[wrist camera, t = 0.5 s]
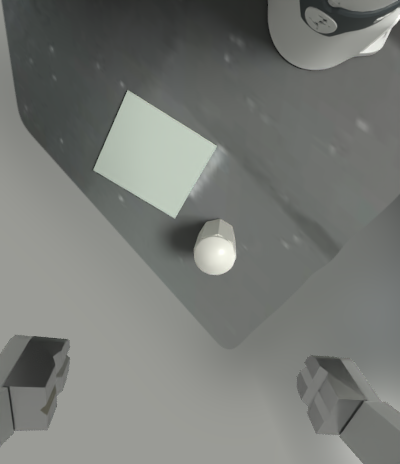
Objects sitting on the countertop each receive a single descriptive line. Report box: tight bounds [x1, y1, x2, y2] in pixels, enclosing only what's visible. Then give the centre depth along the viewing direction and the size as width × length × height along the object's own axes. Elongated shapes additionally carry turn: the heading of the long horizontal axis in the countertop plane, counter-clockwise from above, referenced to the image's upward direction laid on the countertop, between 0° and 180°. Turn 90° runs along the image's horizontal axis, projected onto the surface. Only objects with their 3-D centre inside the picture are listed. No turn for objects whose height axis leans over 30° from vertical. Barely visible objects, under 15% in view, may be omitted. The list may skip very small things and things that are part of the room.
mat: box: [93, 90, 217, 218], centre depth 45 cm, size 14×16×1 cm
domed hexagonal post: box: [193, 219, 236, 275], centre depth 44 cm, size 6×6×9 cm
